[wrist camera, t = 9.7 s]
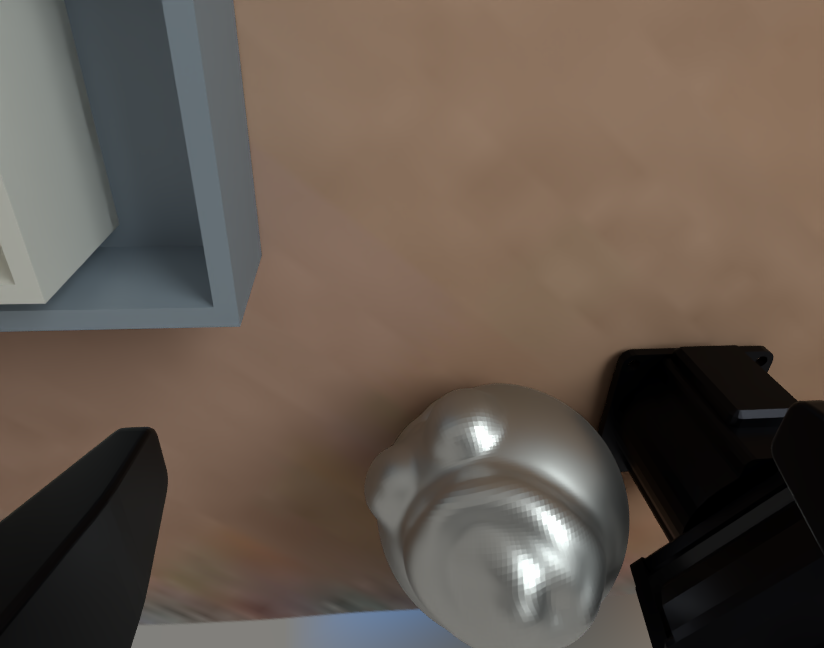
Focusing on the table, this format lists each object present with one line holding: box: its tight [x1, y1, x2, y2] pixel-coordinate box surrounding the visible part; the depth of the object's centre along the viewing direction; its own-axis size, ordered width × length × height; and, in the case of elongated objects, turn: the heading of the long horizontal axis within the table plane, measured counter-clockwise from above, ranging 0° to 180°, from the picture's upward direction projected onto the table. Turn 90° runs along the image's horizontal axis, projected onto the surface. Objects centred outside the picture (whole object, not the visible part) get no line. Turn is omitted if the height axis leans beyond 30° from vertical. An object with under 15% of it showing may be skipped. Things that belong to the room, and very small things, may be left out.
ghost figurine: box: [364, 383, 629, 648], centre depth 19 cm, size 9×10×10 cm
